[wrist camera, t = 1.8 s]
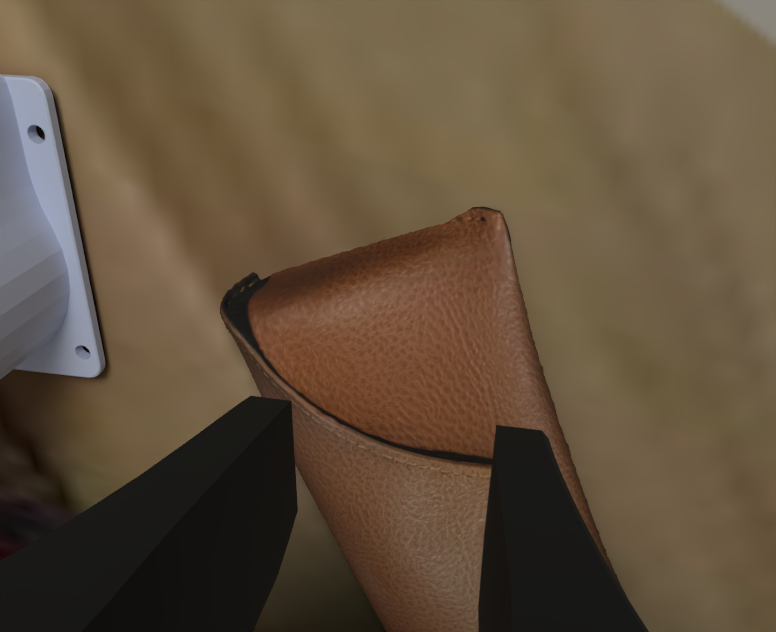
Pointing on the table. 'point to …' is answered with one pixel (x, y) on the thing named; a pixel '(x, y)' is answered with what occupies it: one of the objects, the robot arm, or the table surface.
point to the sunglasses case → (404, 403)
